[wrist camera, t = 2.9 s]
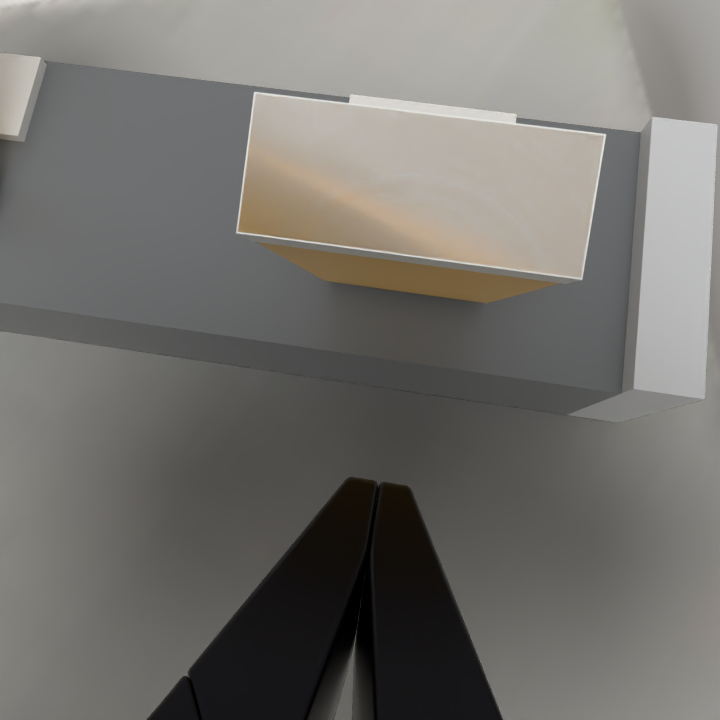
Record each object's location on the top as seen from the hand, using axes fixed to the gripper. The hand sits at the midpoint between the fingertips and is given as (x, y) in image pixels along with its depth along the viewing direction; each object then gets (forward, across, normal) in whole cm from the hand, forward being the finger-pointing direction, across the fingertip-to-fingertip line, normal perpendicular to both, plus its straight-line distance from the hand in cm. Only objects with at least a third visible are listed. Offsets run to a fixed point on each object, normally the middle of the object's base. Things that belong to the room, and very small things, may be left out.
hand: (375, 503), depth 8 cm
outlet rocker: (+8, 0, 0) cm, 8 cm away
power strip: (+12, +6, +3) cm, 14 cm away
